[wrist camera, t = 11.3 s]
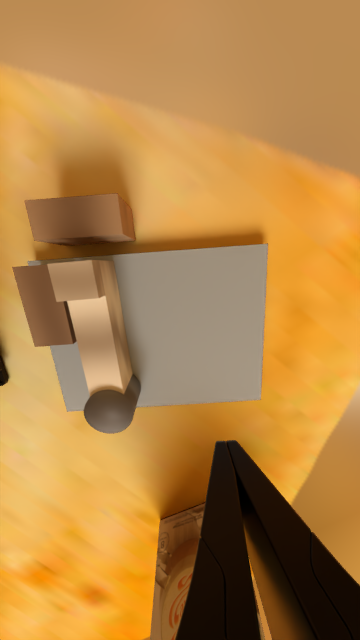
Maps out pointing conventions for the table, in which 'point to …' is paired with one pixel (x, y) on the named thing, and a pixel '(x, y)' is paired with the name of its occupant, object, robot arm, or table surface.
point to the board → (184, 326)
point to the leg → (99, 340)
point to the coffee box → (176, 571)
